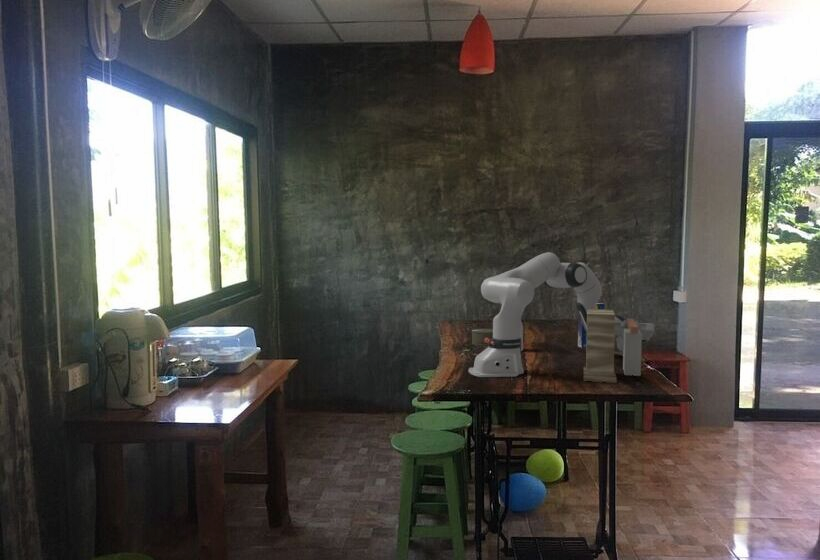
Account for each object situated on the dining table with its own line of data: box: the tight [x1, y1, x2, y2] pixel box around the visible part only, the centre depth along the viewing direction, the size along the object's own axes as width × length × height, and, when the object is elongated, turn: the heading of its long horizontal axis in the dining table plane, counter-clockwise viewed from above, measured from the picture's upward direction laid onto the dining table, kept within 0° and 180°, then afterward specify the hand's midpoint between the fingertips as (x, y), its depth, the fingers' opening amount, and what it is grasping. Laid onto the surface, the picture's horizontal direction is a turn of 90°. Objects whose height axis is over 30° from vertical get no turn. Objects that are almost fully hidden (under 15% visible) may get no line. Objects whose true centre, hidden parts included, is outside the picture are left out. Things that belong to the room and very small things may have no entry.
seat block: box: [622, 329, 642, 377], centre depth 259 cm, size 12×6×17 cm, turn 165°
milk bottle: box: [520, 321, 524, 352], centre depth 307 cm, size 8×8×20 cm
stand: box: [582, 308, 617, 384], centre depth 251 cm, size 18×12×26 cm, turn 165°
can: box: [471, 328, 493, 347], centre depth 326 cm, size 12×12×7 cm
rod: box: [626, 317, 638, 334], centre depth 261 cm, size 25×2×2 cm, turn 165°
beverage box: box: [577, 301, 605, 349], centre depth 315 cm, size 7×11×22 cm, turn 90°
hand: (630, 322), depth 269 cm, fingers closed on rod, 2 cm apart
